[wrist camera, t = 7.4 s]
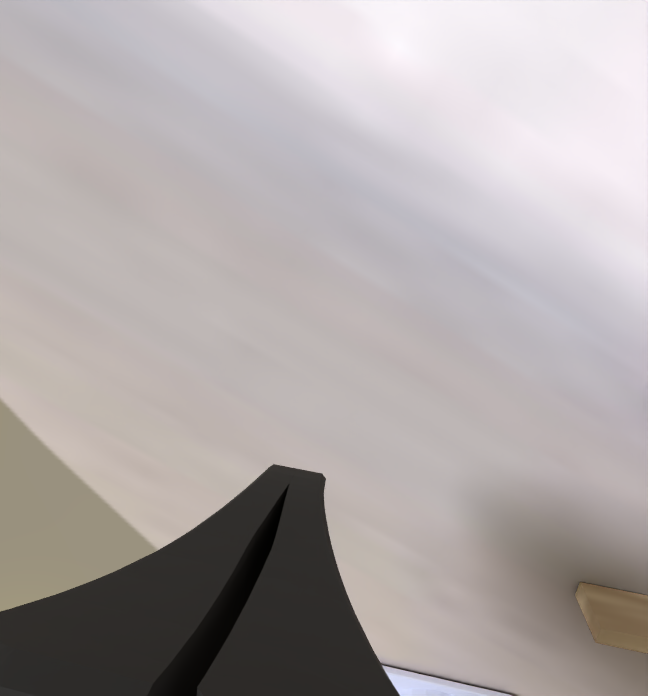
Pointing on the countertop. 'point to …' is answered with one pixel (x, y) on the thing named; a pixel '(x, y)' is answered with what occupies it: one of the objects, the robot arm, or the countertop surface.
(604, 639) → the guide fence
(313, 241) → the countertop surface
